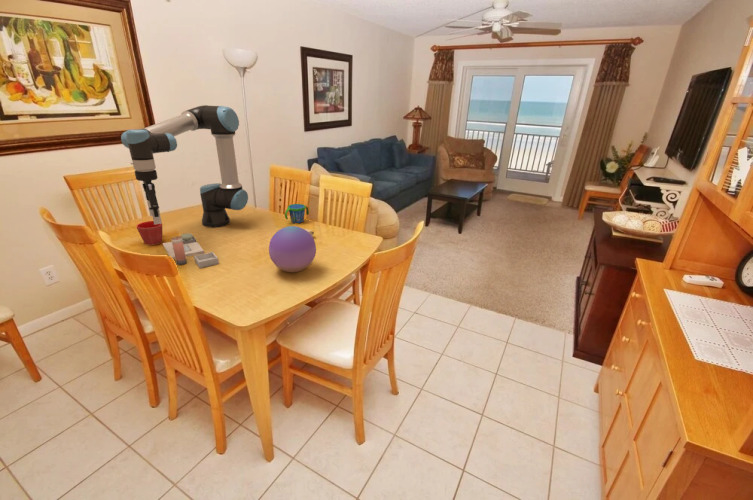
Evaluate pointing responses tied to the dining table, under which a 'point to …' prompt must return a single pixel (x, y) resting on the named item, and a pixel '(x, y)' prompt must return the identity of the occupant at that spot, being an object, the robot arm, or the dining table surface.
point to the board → (185, 248)
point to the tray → (206, 260)
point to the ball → (292, 249)
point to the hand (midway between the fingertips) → (155, 219)
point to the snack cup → (297, 212)
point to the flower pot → (150, 232)
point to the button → (186, 236)
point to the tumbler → (179, 250)
